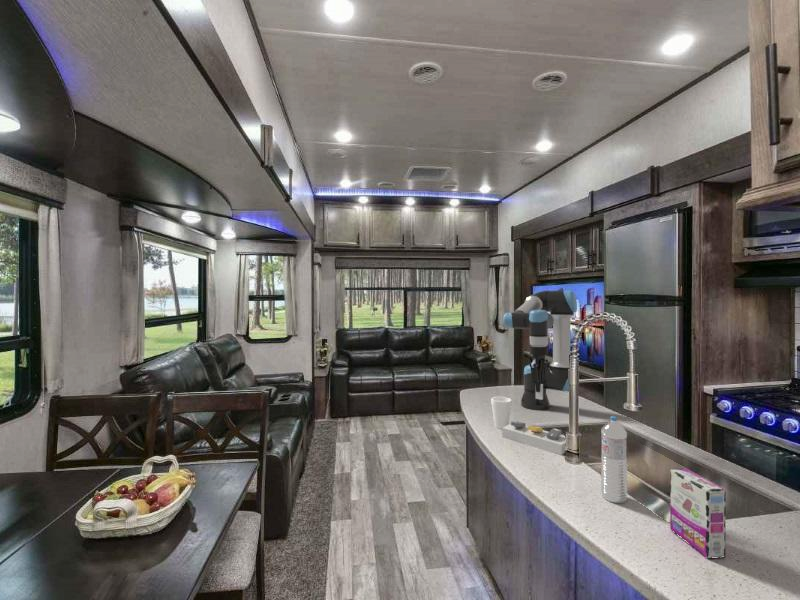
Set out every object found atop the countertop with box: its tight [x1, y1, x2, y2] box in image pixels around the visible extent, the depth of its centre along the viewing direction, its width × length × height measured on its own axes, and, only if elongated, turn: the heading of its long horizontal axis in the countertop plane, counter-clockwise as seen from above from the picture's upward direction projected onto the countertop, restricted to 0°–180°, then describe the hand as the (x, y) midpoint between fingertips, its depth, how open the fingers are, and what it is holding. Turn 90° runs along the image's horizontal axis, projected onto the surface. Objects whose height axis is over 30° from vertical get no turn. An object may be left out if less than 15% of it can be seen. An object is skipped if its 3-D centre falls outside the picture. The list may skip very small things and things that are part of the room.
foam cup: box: [490, 396, 512, 430], centre depth 175 cm, size 10×9×13 cm
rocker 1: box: [510, 421, 526, 427], centre depth 162 cm, size 6×4×2 cm, turn 134°
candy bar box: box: [669, 468, 727, 559], centre depth 92 cm, size 11×5×16 cm, turn 5°
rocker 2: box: [547, 427, 563, 440], centre depth 150 cm, size 6×4×2 cm, turn 133°
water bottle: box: [600, 415, 628, 504], centre depth 113 cm, size 7×7×25 cm
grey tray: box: [501, 423, 589, 458], centre depth 153 cm, size 10×34×5 cm, turn 43°
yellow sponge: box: [527, 425, 544, 432], centre depth 156 cm, size 6×4×2 cm, turn 134°
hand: (539, 398), depth 162 cm, fingers closed
